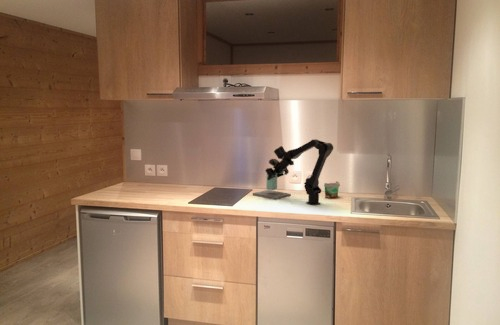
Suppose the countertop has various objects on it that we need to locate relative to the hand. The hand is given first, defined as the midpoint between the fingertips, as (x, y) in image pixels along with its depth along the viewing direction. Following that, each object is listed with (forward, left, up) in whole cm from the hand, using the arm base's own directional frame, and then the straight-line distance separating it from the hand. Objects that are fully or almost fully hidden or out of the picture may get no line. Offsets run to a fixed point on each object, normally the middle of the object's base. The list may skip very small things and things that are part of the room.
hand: (270, 179), depth 256 cm
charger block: (-1, -1, -7) cm, 7 cm away
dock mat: (-1, -1, -11) cm, 11 cm away
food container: (-24, -35, -11) cm, 44 cm away
